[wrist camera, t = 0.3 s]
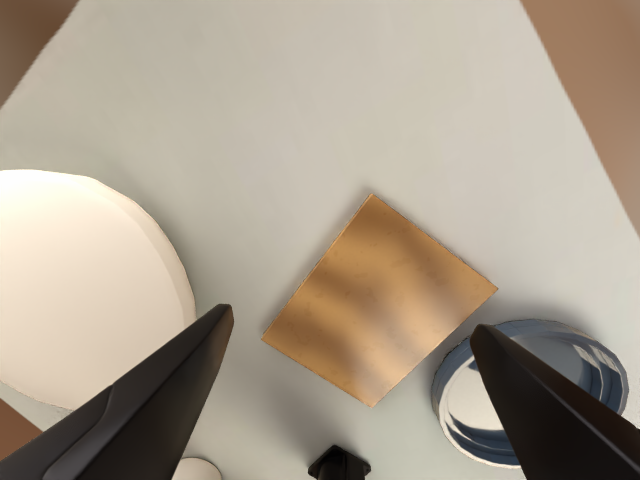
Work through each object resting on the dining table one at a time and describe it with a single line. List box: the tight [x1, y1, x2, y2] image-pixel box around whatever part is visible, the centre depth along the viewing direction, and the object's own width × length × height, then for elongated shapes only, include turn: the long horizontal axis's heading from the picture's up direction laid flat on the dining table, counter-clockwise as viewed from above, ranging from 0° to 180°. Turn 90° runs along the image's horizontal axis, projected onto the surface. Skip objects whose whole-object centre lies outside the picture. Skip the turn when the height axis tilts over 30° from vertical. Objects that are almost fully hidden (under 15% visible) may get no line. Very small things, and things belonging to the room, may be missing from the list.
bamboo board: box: [261, 194, 498, 408], centre depth 25 cm, size 20×16×1 cm
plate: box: [0, 170, 196, 410], centre depth 23 cm, size 28×6×27 cm
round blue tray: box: [432, 319, 629, 469], centre depth 26 cm, size 19×19×2 cm
